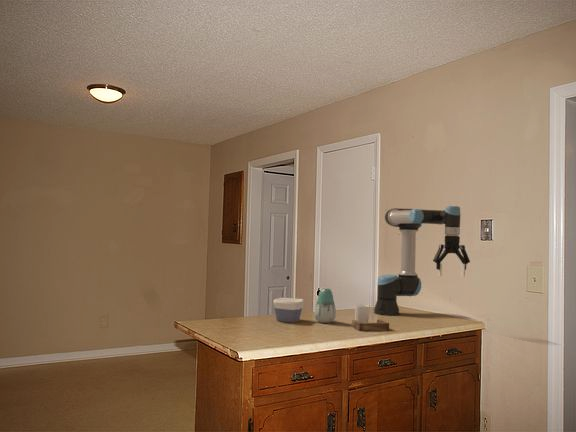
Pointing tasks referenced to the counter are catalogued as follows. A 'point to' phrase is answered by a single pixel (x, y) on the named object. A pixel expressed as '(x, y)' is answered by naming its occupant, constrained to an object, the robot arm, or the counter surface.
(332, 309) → the vase
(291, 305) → the bowl
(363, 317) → the white cup
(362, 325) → the brown wooden tray
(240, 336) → the counter surface
